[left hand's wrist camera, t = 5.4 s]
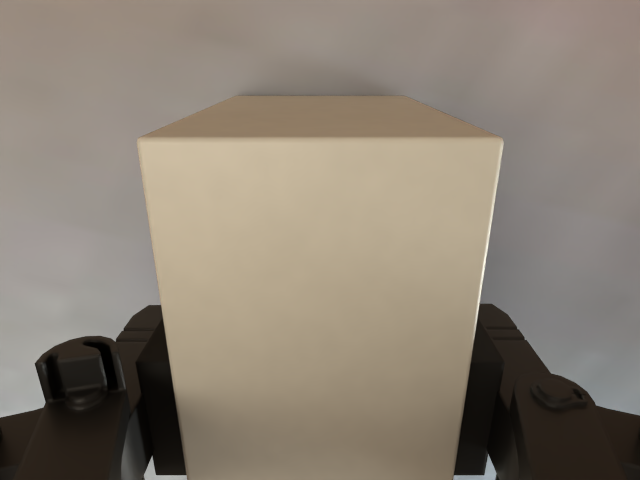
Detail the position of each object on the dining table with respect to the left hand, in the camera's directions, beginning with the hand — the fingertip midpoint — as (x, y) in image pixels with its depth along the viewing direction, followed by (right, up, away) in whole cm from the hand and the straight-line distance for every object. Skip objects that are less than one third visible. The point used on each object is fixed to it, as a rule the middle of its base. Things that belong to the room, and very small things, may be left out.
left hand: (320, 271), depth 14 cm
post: (0, -23, +10) cm, 25 cm away
